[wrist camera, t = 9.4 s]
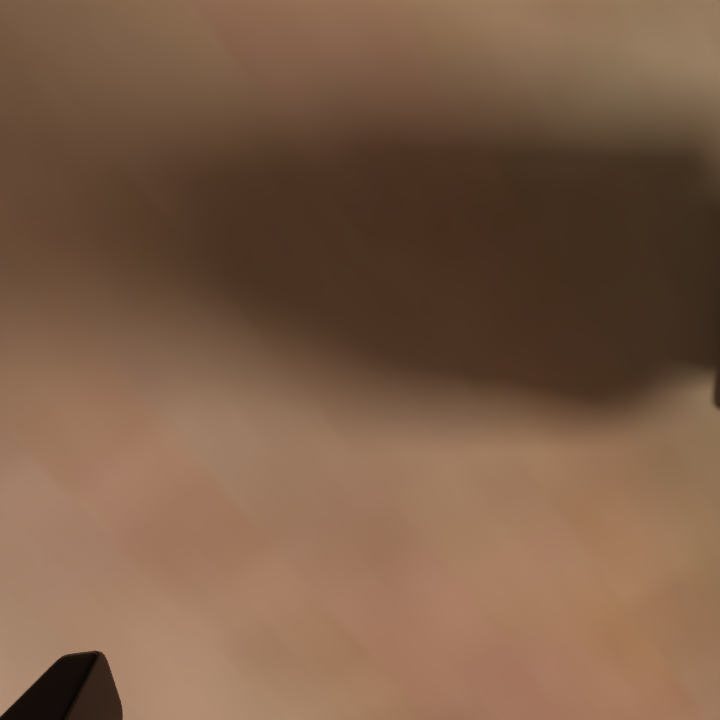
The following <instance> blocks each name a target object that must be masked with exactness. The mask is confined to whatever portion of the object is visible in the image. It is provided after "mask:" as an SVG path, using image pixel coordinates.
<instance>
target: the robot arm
mask: <svg viewBox="0 0 720 720" xmlns="http://www.w3.org/2000/svg"><path fill="white" fill-rule="evenodd" d="M0 720H123V714H122V705H121V701H120V698H119V695H118V692H117V688H116V685H115V682H114V679H113V676H112V673H111V670H110V667H109V664H108V661H107V659H106V657H105V655H104V654H103V653H102V652H99V651H89V652H81V653H73V654H67V655H64V656H62V657H61V658H59V659H58V660H57V661H56V662H55V663H54V664H53V665H52V666H51V667H50V668H49V669H48V670H47V671H46V672H45V673H44V674H43V675H42V676H41V677H40V678H39V679H38V680H37V681H36V682H35V683H34V684H33V685H32V686H31V687H30V688H29V689H28V690H27V691H26V692H25V693H24V694H23V695H22V696H21V697H20V698H19V699H18V700H17V701H16V702H15V703H14V704H13V705H12V706H11V707H10V708H9V709H8V710H7V711H6V712H5V713H4V714H3V715H2V716H1V717H0Z"/></svg>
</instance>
